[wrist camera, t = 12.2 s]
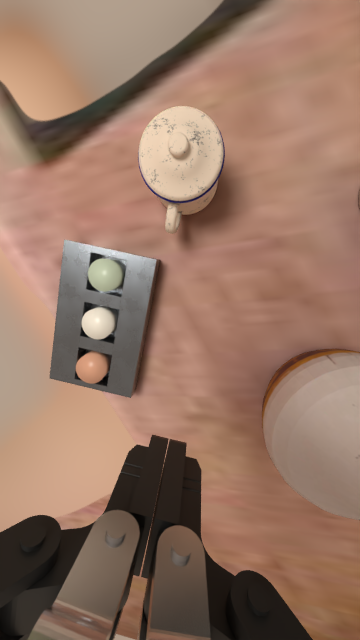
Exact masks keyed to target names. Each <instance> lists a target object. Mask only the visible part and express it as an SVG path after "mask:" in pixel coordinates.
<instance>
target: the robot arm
mask: <svg viewBox="0 0 360 640" xmlns="http://www.w3.org/2000/svg"><path fill="white" fill-rule="evenodd" d="M358 199H359V207H360V191H359V198H358ZM167 444H168V438H164V437H160V436H156V435H152V437H151V441H150V444H149V447H145V446H141V445H136V446H135V447H134V448H133V449H132V450H131V451H129V453H128V455H127V457H126V460H125V462H124V465H123V467H122V470H121V473H120V475H119V477H118V480H117V483H116V485H115V488H114V490H113V492H112V495H111V497H110V500H109V502H108V505H107V507H106V509H105V511H104V513H103V514H102V515H101V516H100V517H99V518H98V519H97V520H96V521H95V522H94V523H92V524H90V525H88V526H86V527H82V528H77V529H66V530H61V528H60V525H59V523H58V522H57V521H56V520H55V519H54V518H52V517H50V516H46V515H37V516H32V517H29V518H27V519H25V520H23V521H21V522H19V523H17V524H16V525H14V526H12V527H10V528H8V529H6V530H4V531H3V532H0V640H114V638H115V635H116V632H117V628H118V625H119V621H120V618H121V615H122V611H123V607H124V605H125V603H126V601H127V599H128V595H129V591H130V587H131V582H132V578H133V575H136V576H139V575H140V570H141V566H142V562H143V558H144V553H145V549H146V545H147V540H148V536H149V540H148V545H147V550H146V555H145V560H144V565H143V570H142V575H141V577H144V578H147V579H148V580H147V586H146V591H145V597H144V601H143V605H142V609H141V615H140V623H139V631H138V640H313V639H312V638H311V637H310V635H309V634H308V633H307V631H306V630H305V629H304V627H303V626H302V625H301V623H300V622H299V620H298V619H297V618H296V616H295V615H294V614H293V612H292V611H291V610H290V608H289V607H288V605H287V604H286V603H285V601H284V600H283V599H282V597H281V596H280V595H279V593H278V592H277V591H276V589H275V588H274V587H273V585H272V584H271V583H270V582H269V581H268V580H267V579H266V578H265V577H263V576H262V575H260V574H259V573H257V572H254V571H250V570H245V571H241V572H239V573H238V574H237V575H236V576H234V575H233V574H231V573H230V572H228V571H227V570H225V569H224V568H222V567H221V566H219V565H218V564H217V563H215V562H214V561H213V560H212V558H211V557H210V556H209V555H208V553H207V552H206V550H205V548H204V546H203V543H202V539H201V468H200V466H199V464H198V462H197V459H194V458H190V457H186V456H185V455H186V443H185V442H181V441H176V440H172V439H170V441H169V445H168V450H167V454H166V449H167ZM165 454H166V458H165ZM164 459H165V462H164ZM163 464H164V467H163ZM162 469H163V471H162ZM161 474H162V476H161ZM160 479H161V480H160ZM159 484H160V485H159ZM158 489H159V490H158ZM157 494H158V495H157ZM156 499H157V500H156ZM155 504H156V505H155ZM154 509H155V510H154ZM153 514H154V515H153ZM152 519H153V520H152ZM151 523H152V525H151ZM150 528H151V530H150ZM149 532H150V535H149Z"/></svg>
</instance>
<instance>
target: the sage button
mask: <svg viewBox="0 0 360 640" xmlns="http://www.w3.org/2000/svg"><path fill="white" fill-rule="evenodd" d="M125 273H126V268H125V266H124V265H123V264H122V263H121V262H120V261H118V260H115V259H98V260H96V261H94V262H93V263H92V264H91V265H90V267H89V270H88V278H89V281H90V283H91V285H92V286H93V287H94V288H96V289H97V290H99V291H103V292H106V291H111V290H114V289H118V288H120V287H122V286H123V285H124V279H125Z"/></svg>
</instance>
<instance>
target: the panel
mask: <svg viewBox="0 0 360 640" xmlns="http://www.w3.org/2000/svg"><path fill="white" fill-rule="evenodd" d="M98 259H115V260H118V261H120V262H121V263H122V264H123V265H124V266H125V268H126V273H125V279H124V285H123V286H122V287H120V288H118V289H114V290H111V291H106V292H103V291H99V290H97V289H96V288H94V287H93V286H92V285H91V283H90V281H89V278H88V270H89V267H90V265H91V264H92V263H93V262H94V261H96V260H98ZM159 263H160V260H158V259H153V258H148V257H144V256H139V255H135V254H130V253H125V252H121V251H116V250H112V249H107V248H102V247H98V246H93V245H89V244H84V243H79V242H75V241H69V240H64V248H63V257H62V266H61V276H60V285H59V295H58V304H57V313H56V323H55V333H54V342H53V352H52V360H51V371H50V378H51V379H55V380H59V381H63V382H67V383H72V384H76V385H80V386H84V387H88V388H92V389H96V390H100V391H105V392H109V393H113V394H117V395H121V396H125V397H129V398H131V397H132V395H133V393H134V391H135V389H136V385H137V380H138V375H139V369H140V364H141V359H142V353H143V348H144V343H145V337H146V332H147V327H148V322H149V316H150V311H151V306H152V300H153V295H154V290H155V285H156V279H157V274H158V269H159ZM99 306H106V307H110V308H114V309H115V310H116V311H117V313H118V315H119V316H118V322H117V328H116V330H115V331H114V332H112V333H111V334H110V335H108V336H107V337H105V338H103V339H93V338H91V337H89V336H88V335H87V334H86V333H85V332H84V330H83V328H82V318H83V316H84V314H85V313H86V312H88V311H89V310H92V309H94V308H97V307H99ZM91 350H92V351H97V352H101V353H105V354H109V355H111V356H112V359H111V365H110V371H109V372H108V373H107V374H106V375H105V376H104V377H103V378H102V380H101V381H99V382H97V383H93V384H90V383H86V382H84V381H83V380H81V379H80V378H79V376H78V375H77V372H76V364H77V362H78V360H79V359H80V358H81V357H83V356H84V355H85V354H87V353H88V352H89V351H91Z"/></svg>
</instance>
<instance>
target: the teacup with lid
mask: <svg viewBox="0 0 360 640" xmlns="http://www.w3.org/2000/svg"><path fill="white" fill-rule="evenodd" d="M224 157H225V150H224V143H223V139H222V136H221V133H220V131H219V129H218V127H217V126H216V124H215V123H214V122H213V120H212V119H211V118H210V117H209V116H208V115H206V114H205V113H204V112H202V111H200V110H198V109H196V108H193V107H188V106H176V107H172V108H169V109H166V110H164V111H163V112H161V113H159V114H158V115H157V116H156V117H154V118H153V119H152V121H151V122H150V123H149V124H148V126H147V127H146V129H145V131H144V133H143V135H142V138H141V141H140V145H139V151H138V162H139V168H140V172H141V175H142V177H143V179H144V181H145V183H146V185H147V186H148V187H149V189H150V190H151V191H152V192H153V193H154V194H156V195H157V197H158V198H159V200H160V201H161V203H162V204H163V205H164V206H165V207H166V208H167V214H166V222H165V228H166V231H167V232H168V233H171V234H174V233H176V232H177V230H178V227H179V224H180V220H181V215H189V214H194V213H196V212H199V211H200V210H202V209H203V208H205V207H206V206H207V205H208V204H209V203H210V201H211V200H212V199H213V197H214V195H215V192H216V189H217V185H218V179H219V176H220V174H221V171H222V168H223V164H224Z"/></svg>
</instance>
